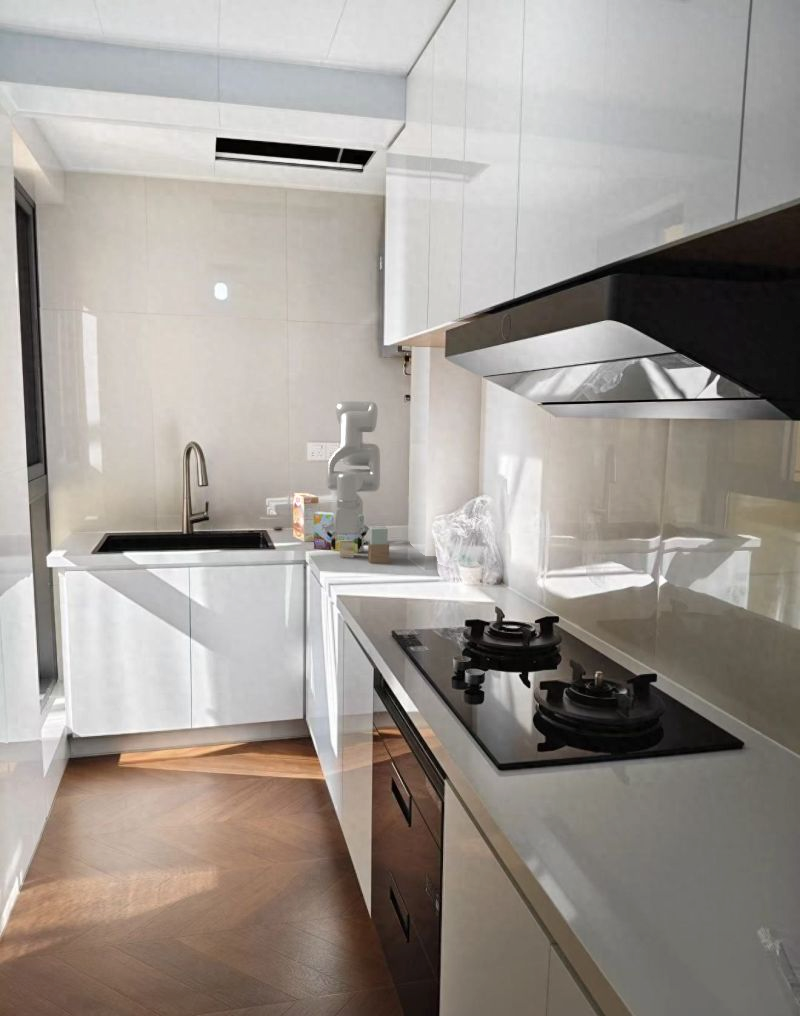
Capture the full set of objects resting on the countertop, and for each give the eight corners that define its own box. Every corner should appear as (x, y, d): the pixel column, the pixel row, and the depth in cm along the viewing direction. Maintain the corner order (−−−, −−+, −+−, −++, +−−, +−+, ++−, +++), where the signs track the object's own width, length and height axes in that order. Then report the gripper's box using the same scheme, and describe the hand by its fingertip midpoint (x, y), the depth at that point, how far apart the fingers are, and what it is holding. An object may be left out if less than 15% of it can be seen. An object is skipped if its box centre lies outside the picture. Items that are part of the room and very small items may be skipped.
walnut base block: (368, 560, 319) (368, 542, 318) (386, 559, 320) (386, 541, 319) (370, 563, 312) (370, 545, 311) (388, 563, 313) (389, 545, 312)
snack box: (312, 548, 342) (312, 512, 340) (320, 546, 347) (320, 510, 345) (357, 553, 332) (357, 516, 330) (364, 551, 337) (364, 514, 335)
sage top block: (369, 542, 318) (369, 526, 317) (385, 542, 318) (385, 526, 318) (371, 545, 312) (371, 529, 311) (387, 544, 313) (387, 529, 312)
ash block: (339, 555, 328) (339, 540, 327) (352, 555, 329) (352, 540, 328) (340, 557, 323) (340, 542, 322) (353, 557, 324) (353, 542, 323)
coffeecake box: (292, 536, 371) (292, 493, 369) (307, 536, 374) (307, 492, 372) (303, 542, 358) (303, 496, 355) (319, 541, 361) (319, 496, 358)
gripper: (367, 504, 328) (367, 547, 330) (323, 504, 326) (323, 547, 328) (370, 506, 321) (369, 550, 323) (325, 506, 318) (324, 550, 320)
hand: (346, 548), depth 325 cm, fingers open, 9 cm apart
